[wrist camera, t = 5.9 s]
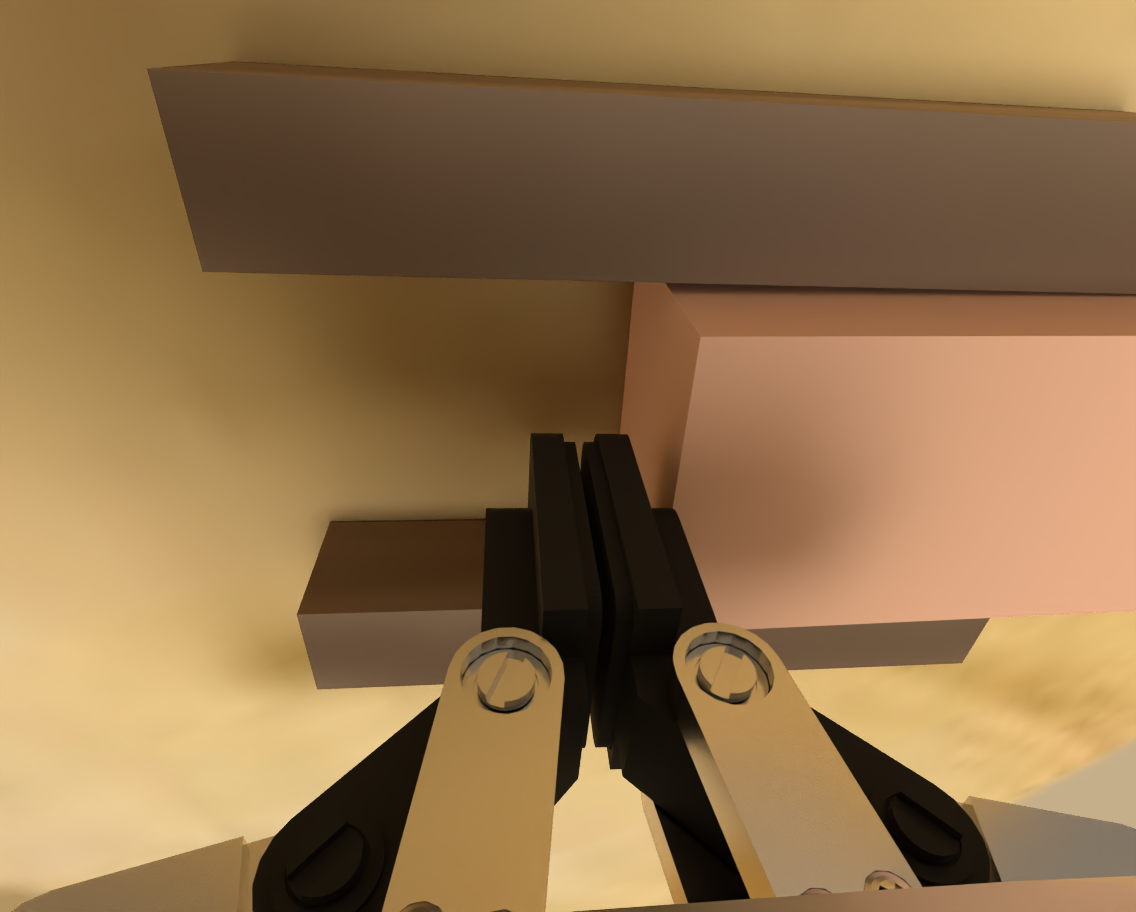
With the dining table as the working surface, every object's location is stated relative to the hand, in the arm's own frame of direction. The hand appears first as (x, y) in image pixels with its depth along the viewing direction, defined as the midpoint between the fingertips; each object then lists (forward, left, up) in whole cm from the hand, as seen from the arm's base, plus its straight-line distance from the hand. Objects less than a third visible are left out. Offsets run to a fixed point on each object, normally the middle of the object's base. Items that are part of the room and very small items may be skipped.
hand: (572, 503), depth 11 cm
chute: (0, +2, -4) cm, 5 cm away
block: (-1, +6, -4) cm, 8 cm away
